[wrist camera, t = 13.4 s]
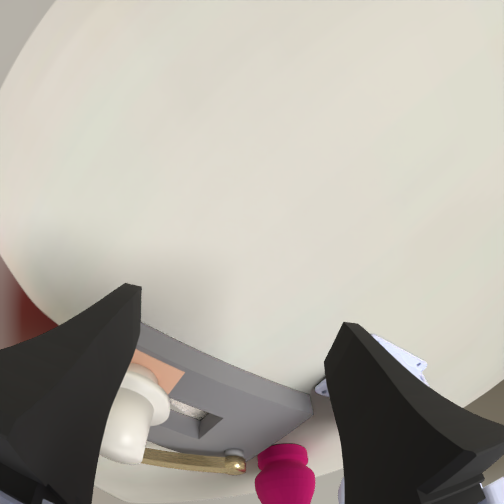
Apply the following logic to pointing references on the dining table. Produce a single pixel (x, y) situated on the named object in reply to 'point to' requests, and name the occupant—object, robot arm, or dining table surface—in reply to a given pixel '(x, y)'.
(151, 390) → the plug
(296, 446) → the pepper mill
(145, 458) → the bar
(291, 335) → the dining table surface
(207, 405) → the socket block
